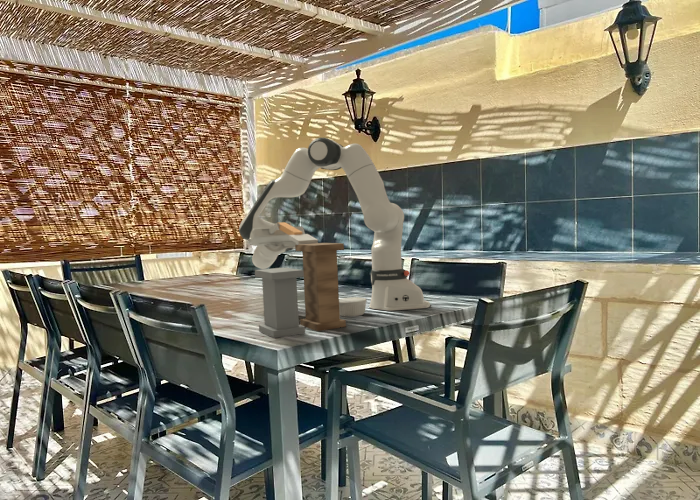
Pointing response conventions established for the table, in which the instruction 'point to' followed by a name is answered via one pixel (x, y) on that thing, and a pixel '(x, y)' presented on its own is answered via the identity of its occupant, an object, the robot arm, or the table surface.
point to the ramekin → (352, 306)
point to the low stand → (280, 302)
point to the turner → (297, 234)
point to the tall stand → (321, 286)
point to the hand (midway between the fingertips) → (283, 224)
